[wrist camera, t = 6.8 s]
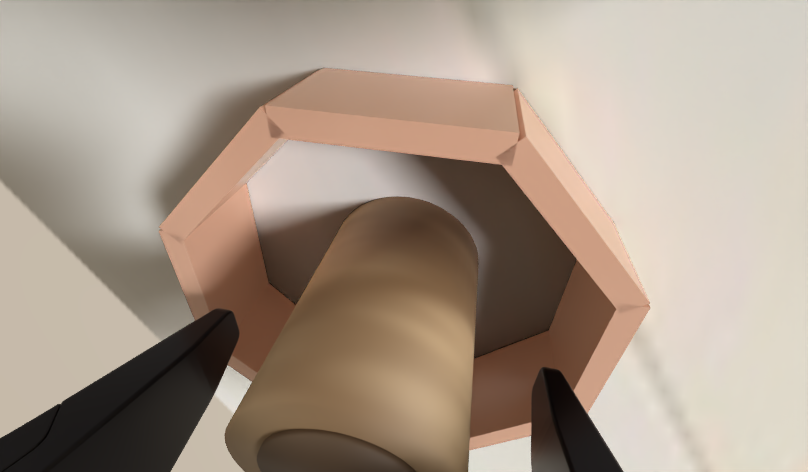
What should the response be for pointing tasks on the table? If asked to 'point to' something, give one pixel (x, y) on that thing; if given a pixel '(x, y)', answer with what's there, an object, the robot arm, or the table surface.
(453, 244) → the oak tube
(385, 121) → the pink octagonal ring
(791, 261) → the table surface
